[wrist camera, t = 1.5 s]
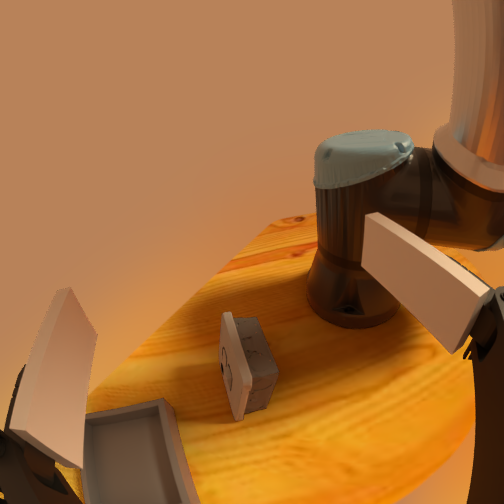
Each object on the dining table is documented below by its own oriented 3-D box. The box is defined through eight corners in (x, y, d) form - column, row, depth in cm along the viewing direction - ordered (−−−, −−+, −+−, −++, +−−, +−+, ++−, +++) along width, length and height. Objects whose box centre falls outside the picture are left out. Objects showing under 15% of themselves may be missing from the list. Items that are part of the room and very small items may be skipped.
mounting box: (173, 407, 28) (163, 397, 26) (202, 509, 17) (192, 508, 15) (90, 424, 25) (77, 415, 24) (102, 516, 15) (86, 513, 13)
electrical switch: (218, 361, 33) (206, 312, 28) (257, 352, 34) (253, 302, 29) (235, 424, 26) (223, 388, 21) (280, 412, 27) (282, 373, 22)
